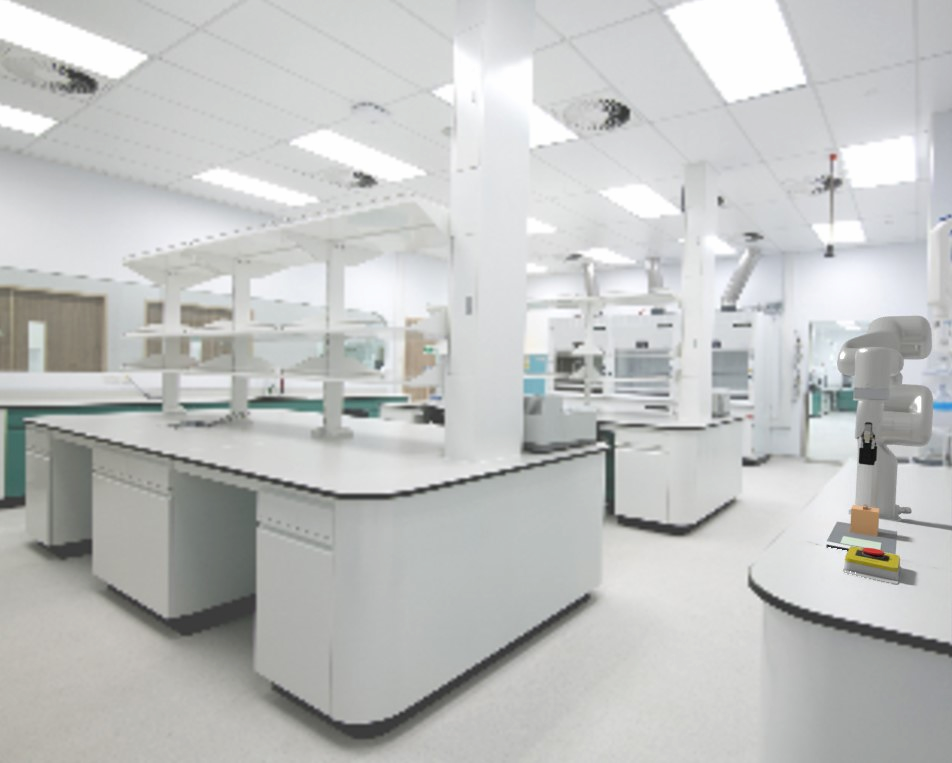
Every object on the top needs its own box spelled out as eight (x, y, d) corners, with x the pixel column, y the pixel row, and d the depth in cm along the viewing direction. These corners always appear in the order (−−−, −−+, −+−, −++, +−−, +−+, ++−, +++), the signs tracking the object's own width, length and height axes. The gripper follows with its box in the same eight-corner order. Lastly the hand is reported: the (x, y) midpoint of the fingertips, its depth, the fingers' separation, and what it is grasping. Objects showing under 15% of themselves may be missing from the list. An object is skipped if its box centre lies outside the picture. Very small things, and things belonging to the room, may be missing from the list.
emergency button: (901, 548, 119) (899, 565, 108) (900, 568, 119) (897, 587, 108) (850, 538, 125) (842, 554, 113) (849, 557, 125) (841, 575, 114)
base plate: (836, 526, 150) (837, 505, 149) (896, 537, 141) (897, 514, 141) (826, 547, 131) (827, 522, 131) (894, 560, 123) (896, 534, 123)
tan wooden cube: (851, 527, 144) (853, 502, 144) (878, 531, 141) (879, 505, 140) (850, 531, 140) (851, 505, 139) (877, 536, 136) (878, 509, 136)
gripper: (855, 394, 148) (852, 457, 149) (850, 395, 135) (846, 464, 135) (890, 396, 144) (887, 461, 144) (888, 396, 130) (884, 468, 130)
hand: (867, 462), depth 140 cm, fingers open, 9 cm apart
